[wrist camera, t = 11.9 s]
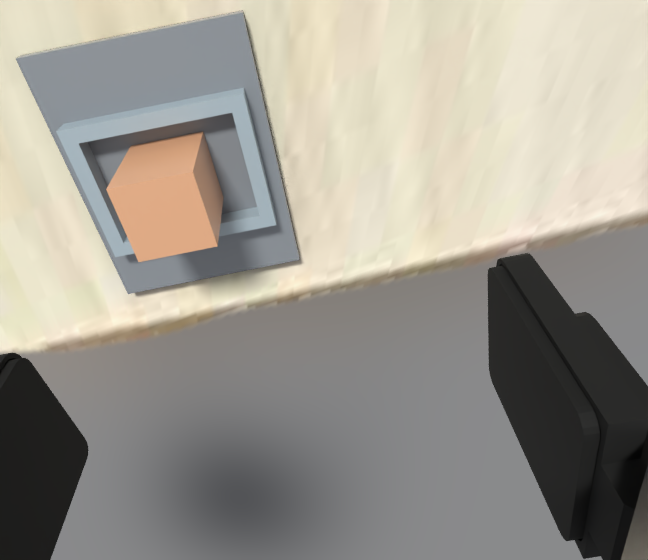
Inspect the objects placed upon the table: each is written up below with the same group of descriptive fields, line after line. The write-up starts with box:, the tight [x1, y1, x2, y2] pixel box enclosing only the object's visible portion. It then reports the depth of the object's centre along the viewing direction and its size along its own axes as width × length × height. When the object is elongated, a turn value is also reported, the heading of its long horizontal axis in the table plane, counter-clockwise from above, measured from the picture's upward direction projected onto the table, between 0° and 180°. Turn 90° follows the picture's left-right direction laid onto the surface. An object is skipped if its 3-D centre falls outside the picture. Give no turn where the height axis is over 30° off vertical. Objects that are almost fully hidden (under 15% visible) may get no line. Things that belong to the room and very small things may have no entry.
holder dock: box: [16, 10, 300, 294], centre depth 37 cm, size 14×18×2 cm
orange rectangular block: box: [106, 131, 224, 262], centre depth 34 cm, size 5×5×7 cm
